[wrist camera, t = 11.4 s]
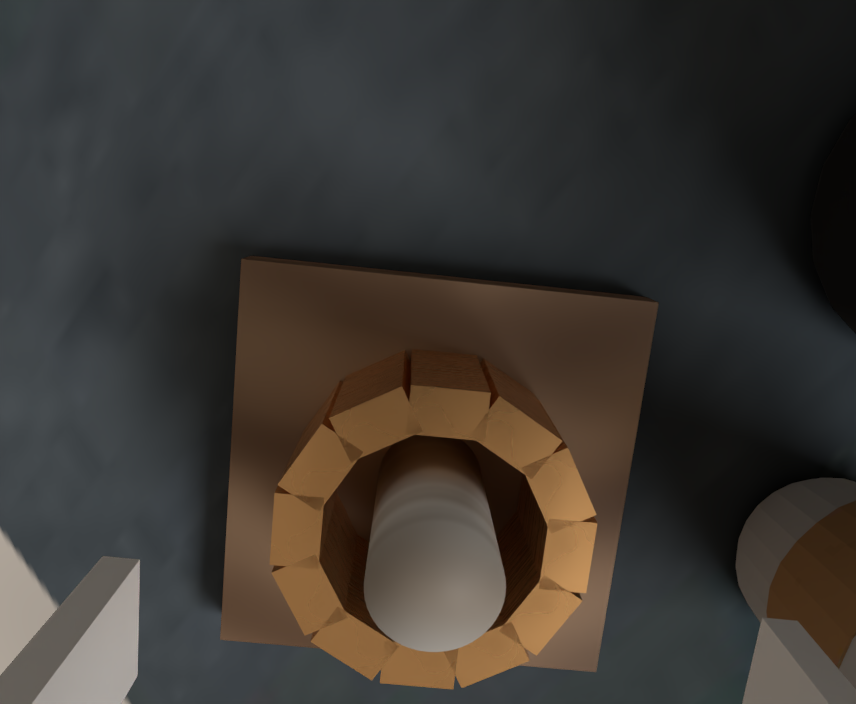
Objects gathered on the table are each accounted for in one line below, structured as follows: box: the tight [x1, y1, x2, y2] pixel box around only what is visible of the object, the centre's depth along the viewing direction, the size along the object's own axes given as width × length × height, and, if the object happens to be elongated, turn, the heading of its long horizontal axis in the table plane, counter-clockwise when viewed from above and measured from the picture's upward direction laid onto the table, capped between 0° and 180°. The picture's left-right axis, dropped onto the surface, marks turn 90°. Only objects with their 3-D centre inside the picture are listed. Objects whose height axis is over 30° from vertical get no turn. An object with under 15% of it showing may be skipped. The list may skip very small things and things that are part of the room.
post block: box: [220, 256, 659, 672], centre depth 23 cm, size 14×14×9 cm
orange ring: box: [270, 349, 598, 689], centre depth 24 cm, size 9×9×5 cm
